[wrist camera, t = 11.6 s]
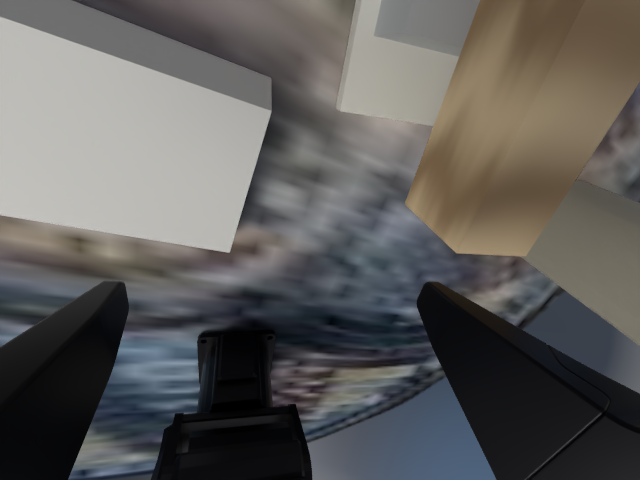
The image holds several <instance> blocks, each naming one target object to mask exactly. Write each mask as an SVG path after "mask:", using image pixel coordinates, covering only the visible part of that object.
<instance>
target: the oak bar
mask: <svg viewBox="0 0 640 480" xmlns="http://www.w3.org/2000/svg"><path fill="white" fill-rule="evenodd" d="M639 83H640V0H480V2H479V5H478V7H477V10H476V13H475V15H474V18H473V21H472V24H471V26H470V29H469V32H468V34H467V37H466V40H465V43H464V45H463V48H462V51H461V53H460V56H459V59H458V61H457V64H456V67H455V70H454V72H453V75H452V78H451V80H450V83H449V86H448V89H447V91H446V94H445V97H444V99H443V102H442V105H441V107H440V110H439V113H438V116H437V118H436V121H435V124H434V126H433V129H432V132H431V135H430V137H429V140H428V143H427V145H426V148H425V151H424V153H423V156H422V159H421V162H420V164H419V167H418V170H417V172H416V175H415V178H414V181H413V183H412V186H411V189H410V191H409V194H408V197H407V199H406V202H405V205H406V206H407V207H408V208H409V209H410V210H411V211H412V212H414V213H415V214H416V215H417V216H418V217H419V218H420V219H421V220H422V221H423V222H424V223H425V224H426V225H427V226H428V227H429V228H430V229H431V230H432V231H433V232H435V233H436V234H437V235H438V236H439V237H440V238H441V239H442V240H443V241H444V242H445V243H446V244H447V245H448V246H449V247H450V248H451V249H452V250H453V251H455V252H456V253H463V254H484V255H505V256H525V257H526V255H527V254H528V252H529V251H530V249H531V248H532V246H533V245H534V243H535V241H536V240H537V238H538V237H539V235H540V234H541V232H542V231H543V229H544V228H545V226H546V225H547V223H548V222H549V220H550V219H551V217H552V215H553V214H554V212H555V211H556V209H557V208H558V206H559V205H560V203H561V202H562V200H563V199H564V197H565V196H566V194H567V193H568V191H569V190H570V188H571V186H572V185H573V183H574V182H575V180H576V179H577V177H578V176H579V174H580V173H581V171H582V170H583V168H584V167H585V165H586V164H587V162H588V161H589V159H590V157H591V156H592V154H593V153H594V151H595V150H596V148H597V147H598V145H599V144H600V142H601V141H602V139H603V138H604V136H605V135H606V133H607V131H608V130H609V128H610V127H611V125H612V124H613V122H614V121H615V119H616V118H617V116H618V115H619V113H620V112H621V110H622V109H623V107H624V106H625V104H626V102H627V101H628V99H629V98H630V96H631V95H632V93H633V92H634V90H635V89H636V87H637V86H638V84H639Z"/></svg>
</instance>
